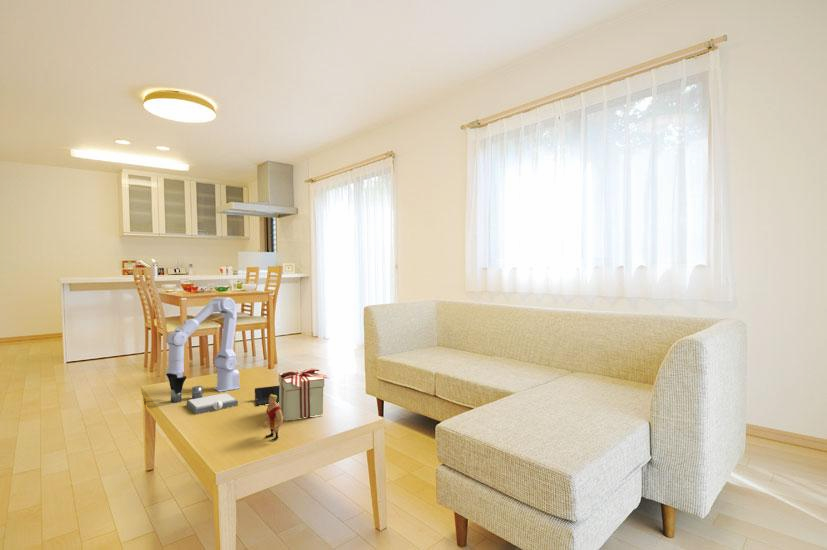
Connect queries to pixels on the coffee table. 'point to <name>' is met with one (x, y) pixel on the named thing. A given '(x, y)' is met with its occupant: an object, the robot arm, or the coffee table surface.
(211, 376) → the coffee table surface
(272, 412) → the action figure
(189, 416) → the coffee table surface
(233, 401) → the white grey-edged panel
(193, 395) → the cylinder
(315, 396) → the gift box
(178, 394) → the cylinder
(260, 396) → the handheld gaming console
